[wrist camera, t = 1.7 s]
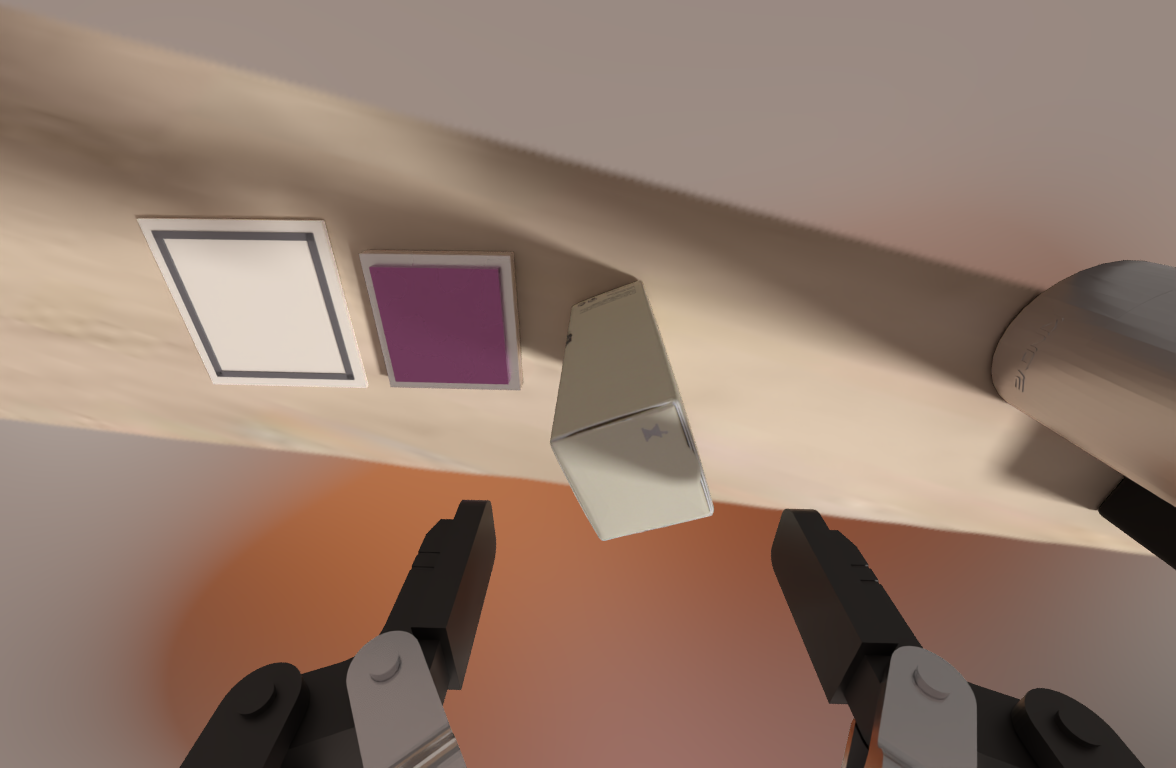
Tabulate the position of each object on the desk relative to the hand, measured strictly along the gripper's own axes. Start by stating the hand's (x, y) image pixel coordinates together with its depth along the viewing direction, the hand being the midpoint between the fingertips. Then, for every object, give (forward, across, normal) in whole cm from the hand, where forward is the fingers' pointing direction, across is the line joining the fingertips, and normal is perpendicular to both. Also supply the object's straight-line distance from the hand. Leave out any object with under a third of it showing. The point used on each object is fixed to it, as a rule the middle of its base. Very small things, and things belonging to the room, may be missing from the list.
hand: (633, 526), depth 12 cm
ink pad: (+15, +10, 0) cm, 18 cm away
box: (+15, 0, 0) cm, 15 cm away
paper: (+15, +21, -1) cm, 26 cm away
